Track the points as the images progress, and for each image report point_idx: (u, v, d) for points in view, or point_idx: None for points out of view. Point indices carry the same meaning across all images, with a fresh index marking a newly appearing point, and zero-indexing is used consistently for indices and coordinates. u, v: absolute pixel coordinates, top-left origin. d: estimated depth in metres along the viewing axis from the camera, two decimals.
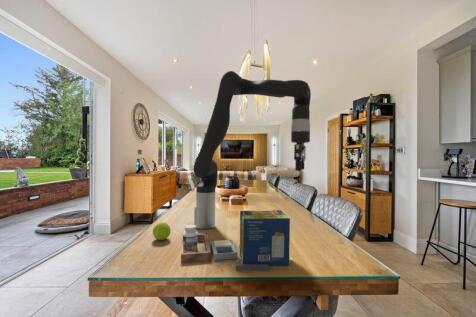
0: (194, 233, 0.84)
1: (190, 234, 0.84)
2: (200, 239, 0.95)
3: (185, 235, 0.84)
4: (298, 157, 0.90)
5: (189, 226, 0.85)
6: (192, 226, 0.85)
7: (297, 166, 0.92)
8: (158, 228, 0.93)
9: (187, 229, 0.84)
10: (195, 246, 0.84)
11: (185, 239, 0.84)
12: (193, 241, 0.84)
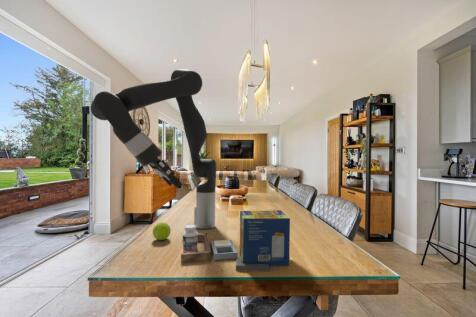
0: (194, 233, 0.84)
1: (190, 234, 0.84)
2: (200, 239, 0.95)
3: (185, 235, 0.84)
4: None
5: (189, 226, 0.85)
6: (192, 226, 0.85)
7: None
8: (158, 228, 0.93)
9: (187, 229, 0.84)
10: (195, 246, 0.84)
11: (185, 239, 0.84)
12: (193, 241, 0.84)
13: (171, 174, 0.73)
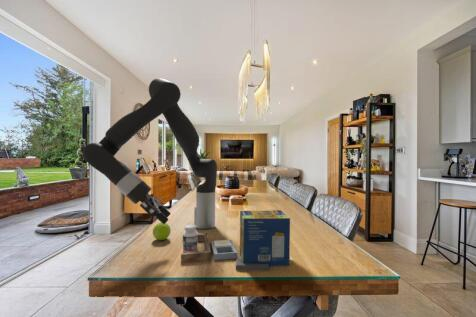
0: (194, 233, 0.84)
1: (190, 234, 0.84)
2: (200, 239, 0.95)
3: (185, 235, 0.84)
4: None
5: (189, 226, 0.85)
6: (192, 226, 0.85)
7: None
8: (158, 228, 0.93)
9: (187, 229, 0.84)
10: (195, 246, 0.84)
11: (185, 239, 0.84)
12: (193, 241, 0.84)
13: (154, 213, 0.76)
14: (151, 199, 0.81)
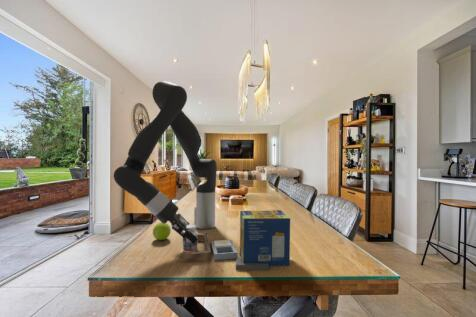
0: (194, 233, 0.84)
1: None
2: (200, 239, 0.95)
3: None
4: None
5: (189, 226, 0.85)
6: (192, 226, 0.85)
7: None
8: (158, 228, 0.93)
9: None
10: (195, 246, 0.84)
11: (185, 239, 0.84)
12: None
13: (185, 234, 0.80)
14: (179, 219, 0.83)
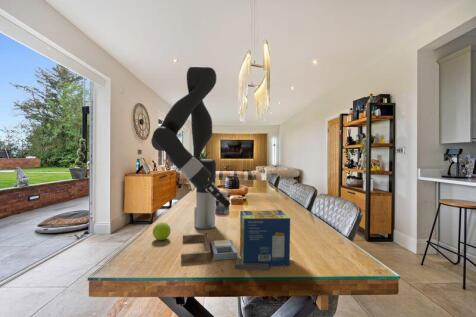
0: (226, 198, 0.86)
1: None
2: (200, 239, 0.95)
3: None
4: None
5: (221, 191, 0.87)
6: (224, 191, 0.87)
7: None
8: (158, 228, 0.93)
9: None
10: (227, 210, 0.86)
11: (218, 203, 0.85)
12: None
13: (219, 196, 0.81)
14: (213, 183, 0.84)
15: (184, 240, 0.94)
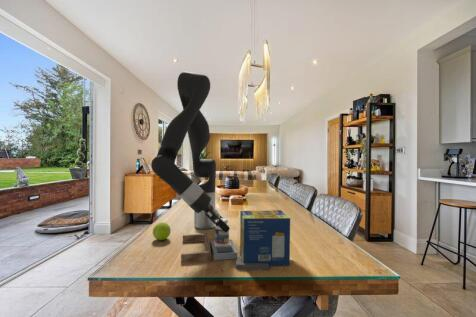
0: None
1: None
2: (200, 239, 0.95)
3: (217, 228, 0.85)
4: None
5: None
6: (224, 219, 0.87)
7: None
8: (158, 228, 0.93)
9: None
10: (227, 239, 0.86)
11: (218, 232, 0.85)
12: (226, 233, 0.85)
13: (219, 222, 0.80)
14: (212, 208, 0.85)
15: (184, 240, 0.94)
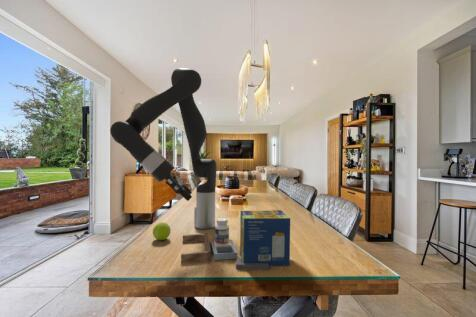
0: (226, 226, 0.86)
1: (222, 227, 0.85)
2: (200, 239, 0.95)
3: (217, 228, 0.85)
4: None
5: (221, 219, 0.87)
6: (224, 219, 0.87)
7: None
8: (158, 228, 0.93)
9: (219, 222, 0.85)
10: (227, 239, 0.86)
11: (217, 232, 0.85)
12: (226, 233, 0.85)
13: (179, 189, 0.79)
14: (175, 177, 0.84)
15: (184, 240, 0.94)
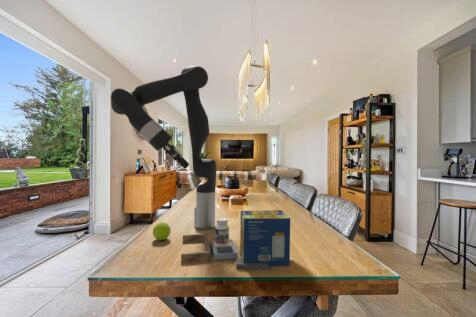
0: (226, 226, 0.86)
1: (222, 227, 0.85)
2: (200, 239, 0.95)
3: (217, 228, 0.85)
4: None
5: (221, 219, 0.87)
6: (224, 219, 0.87)
7: None
8: (158, 228, 0.93)
9: (219, 222, 0.85)
10: (227, 239, 0.86)
11: (217, 232, 0.85)
12: (226, 233, 0.85)
13: (176, 156, 0.81)
14: (172, 146, 0.85)
15: (184, 240, 0.94)
